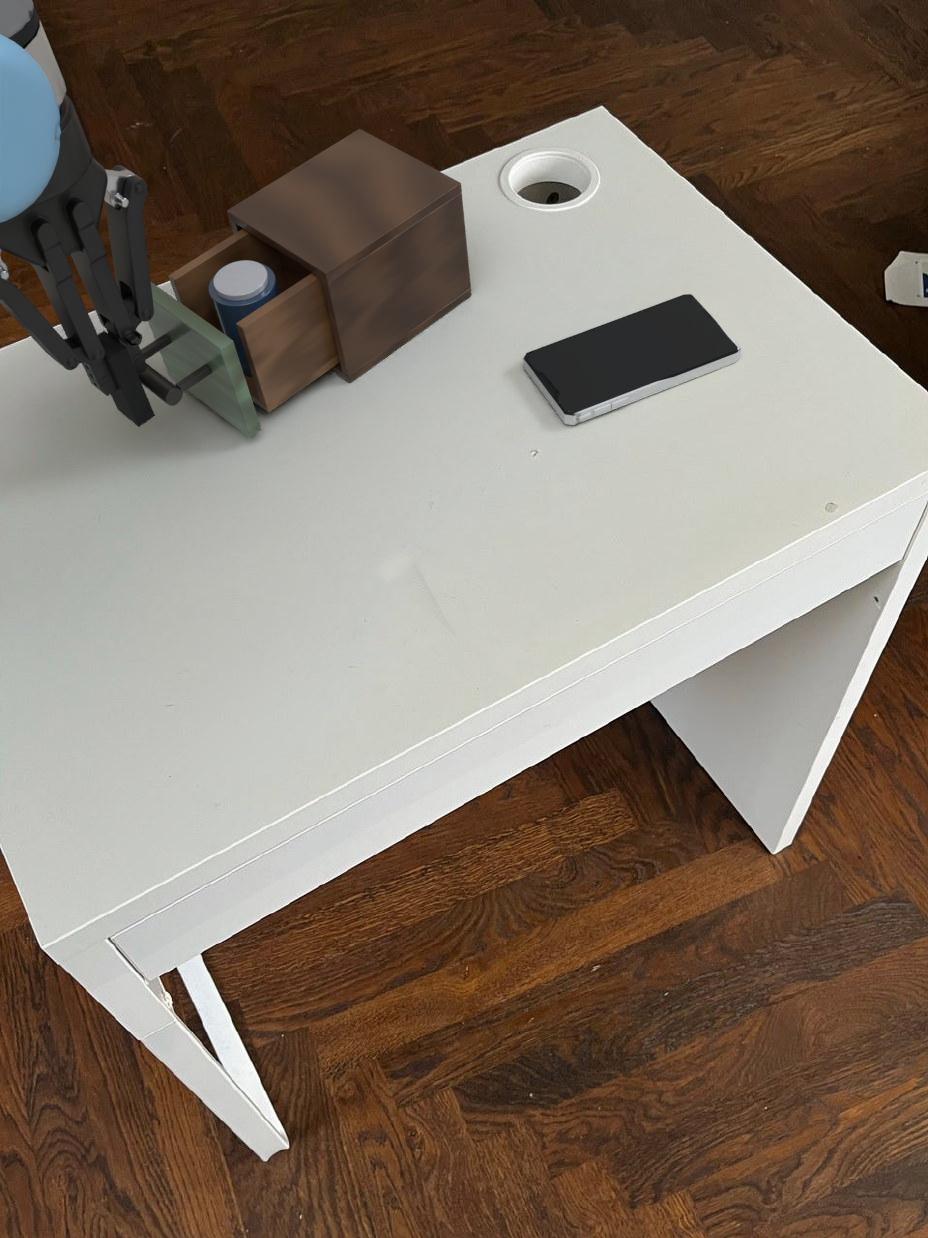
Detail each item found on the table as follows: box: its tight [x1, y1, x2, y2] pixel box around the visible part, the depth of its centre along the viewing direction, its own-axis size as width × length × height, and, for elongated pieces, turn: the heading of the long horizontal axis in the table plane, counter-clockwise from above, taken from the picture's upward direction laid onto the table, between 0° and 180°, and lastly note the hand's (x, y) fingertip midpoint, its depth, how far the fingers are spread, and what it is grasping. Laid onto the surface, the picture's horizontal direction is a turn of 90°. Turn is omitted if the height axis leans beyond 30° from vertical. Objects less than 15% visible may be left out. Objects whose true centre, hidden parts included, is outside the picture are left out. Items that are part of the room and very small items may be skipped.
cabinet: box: [226, 128, 472, 384], centre depth 91 cm, size 14×12×11 cm
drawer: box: [138, 229, 340, 439], centre depth 87 cm, size 17×10×9 cm, turn 135°
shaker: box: [208, 260, 280, 377], centre depth 87 cm, size 5×5×8 cm
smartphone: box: [522, 293, 742, 426], centre depth 88 cm, size 8×1×15 cm
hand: (136, 412), depth 84 cm, fingers closed
